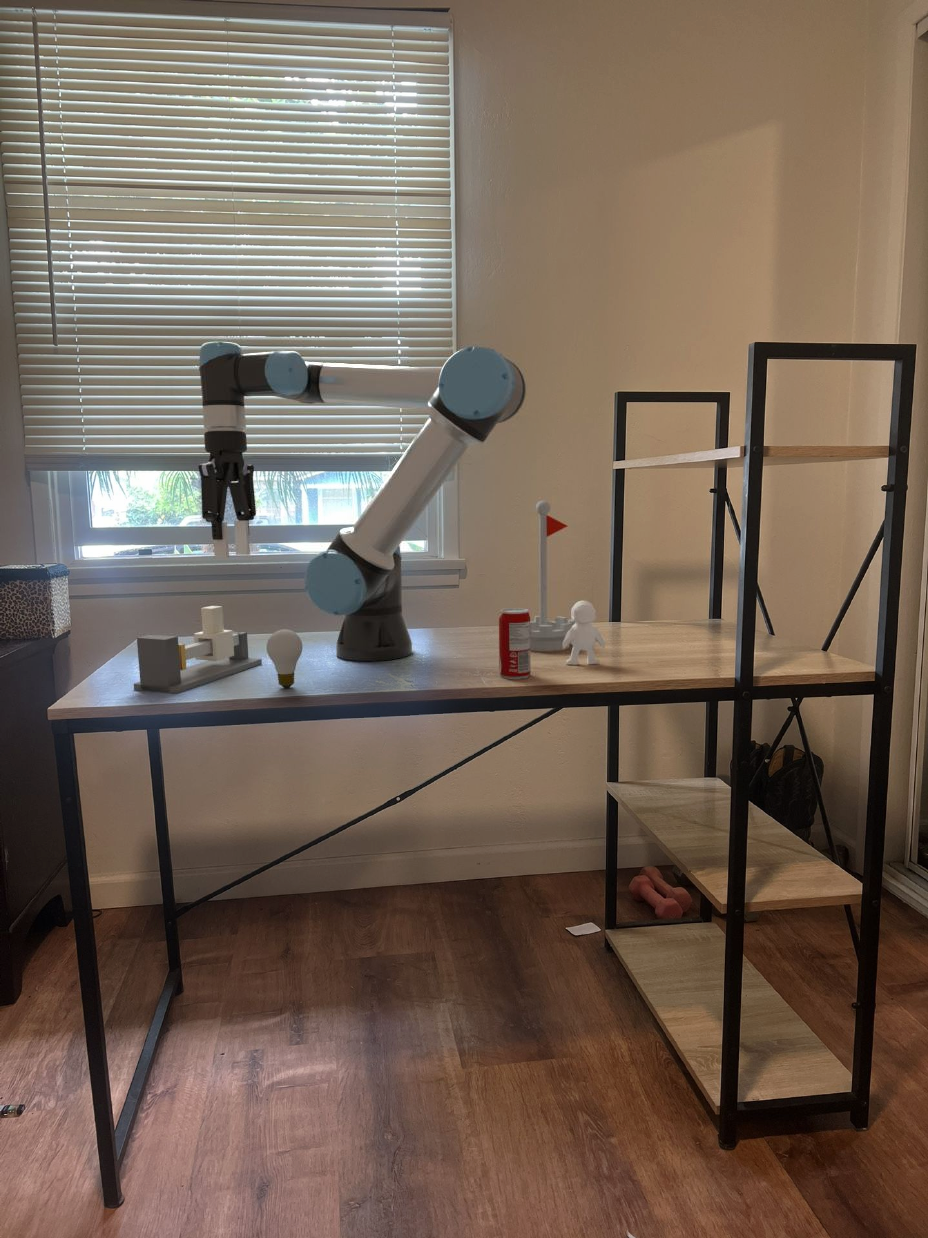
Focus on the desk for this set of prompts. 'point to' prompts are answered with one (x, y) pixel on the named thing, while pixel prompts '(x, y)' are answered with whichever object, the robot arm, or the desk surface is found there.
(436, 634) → the desk surface
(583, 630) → the figurine
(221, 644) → the sleeve
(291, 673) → the light bulb
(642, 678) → the desk surface
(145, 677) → the rail
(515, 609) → the soda can
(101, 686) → the desk surface
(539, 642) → the flag stand
